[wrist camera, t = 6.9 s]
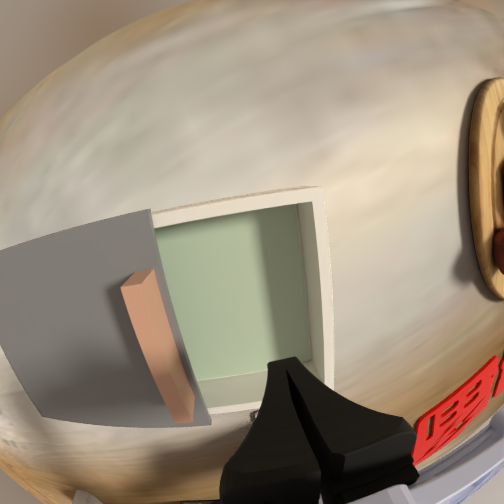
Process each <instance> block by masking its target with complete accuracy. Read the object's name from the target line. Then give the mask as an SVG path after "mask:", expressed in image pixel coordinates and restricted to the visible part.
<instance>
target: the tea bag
mask: <svg viewBox="0 0 504 504" xmlns="http://www.w3.org/2000/svg"><path fill="white" fill-rule="evenodd" d="M72 504H104V503H102V502H101V501H99V500H98V499H97V498H96V497H94V496H93V495H92V494H90V493H89V492H85V491H81V490H76V493H75V496H74V499H73V502H72Z"/></svg>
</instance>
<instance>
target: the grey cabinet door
mask: <svg viewBox="0 0 504 504" xmlns="http://www.w3.org/2000/svg"><path fill="white" fill-rule="evenodd" d="M0 345H1V347H2V349H3V351H4V353H5V355H6V357H7V359H8V361H9V363H10V365H11V367H12V369H13V371H14V372H15V374H16V376H17V378H18V380H19V381H20V383H21V385H22V386H23V388H24V390H25V391H26V393H27V394H28V396H29V398H30V399H31V401H32V402H33V404H34V405H35V407H36V408H37V410H38V411H39V413H40V414H41V415H42V417H47V418H52V419H57V420H63V421H70V422H76V423H84V424H93V425H103V426H116V427H139V428H168V427H192V426H206V425H211V417H210V415H209V412H208V410H207V407H206V405H205V402H204V399H203V397H202V394H201V391H200V389H199V386H198V383H197V380H196V377H195V375H194V372H193V369H192V366H191V363H190V360H189V357H188V354H187V351H186V348H185V345H184V341H183V338H182V335H181V332H180V328H179V325H178V322H177V318H176V315H175V311H174V308H173V304H172V301H171V297H170V293H169V289H168V286H167V282H166V278H165V274H164V270H163V266H162V261H161V257H160V253H159V248H158V244H157V239H156V235H155V230H154V225H153V220H152V215H151V210H150V209H146V210H142V211H137V212H133V213H129V214H124V215H120V216H116V217H112V218H108V219H104V220H100V221H96V222H92V223H89V224H85V225H81V226H78V227H74V228H70V229H67V230H63V231H60V232H56V233H53V234H50V235H46V236H43V237H40V238H37V239H33V240H30V241H27V242H24V243H21V244H18V245H15V246H12V247H9V248H6V249H3V250H0Z"/></svg>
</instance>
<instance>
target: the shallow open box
mask: <svg viewBox="0 0 504 504" xmlns="http://www.w3.org/2000/svg"><path fill="white" fill-rule="evenodd" d="M151 215H152V220H153V225H154V230H155V235H156V239H157V244H158V248H159V253H160V257H161V261H162V266H163V270H164V274H165V278H166V282H167V286H168V289H169V293H170V297H171V301H172V304H173V308H174V311H175V315H176V318H177V322H178V325H179V328H180V332H181V335H182V338H183V341H184V345H185V348H186V351H187V354H188V357H189V360H190V363H191V366H192V369H193V372H194V375H195V377H196V380H197V383H198V386H199V389H200V391H201V394H202V397H203V399H204V402H205V405H206V407H207V410H208V412H209V414H219V413H227V412H235V411H242V410H249V409H255V408H260V406H261V403H262V400H263V396H264V392H265V388H266V382H267V374H268V368H267V364H268V362H271V361H276V360H280V359H285V358H290V357H294V356H295V357H297V358H298V359H299V361H300V362H301V363H302V364H303V365H304V366H305V367H306V368H307V369H308V370H309V371H310V372H311V373H312V374H313V375H314V376H316V377H317V378H318V379H319V380H320V381H321V382H323V383H324V384H325V385H326V386H328V387H329V388H331V389H332V390H333V391H334V315H333V292H332V275H331V260H330V248H329V237H328V226H327V217H326V208H325V199H324V191H323V187H318V186H301V187H294V188H286V189H279V190H272V191H265V192H259V193H252V194H246V195H240V196H234V197H228V198H222V199H216V200H211V201H205V202H200V203H194V204H189V205H184V206H179V207H174V208H169V209H164V210H160V211H155V212H151Z"/></svg>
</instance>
